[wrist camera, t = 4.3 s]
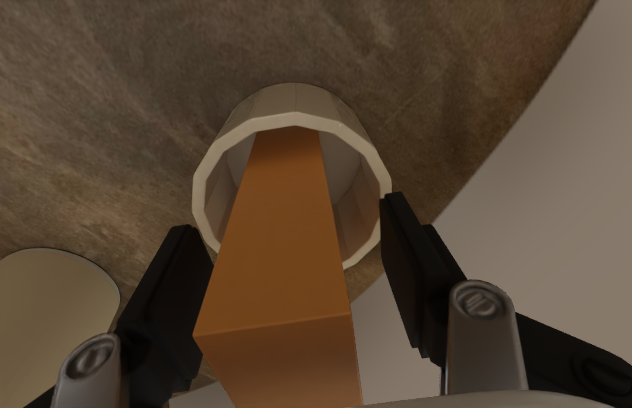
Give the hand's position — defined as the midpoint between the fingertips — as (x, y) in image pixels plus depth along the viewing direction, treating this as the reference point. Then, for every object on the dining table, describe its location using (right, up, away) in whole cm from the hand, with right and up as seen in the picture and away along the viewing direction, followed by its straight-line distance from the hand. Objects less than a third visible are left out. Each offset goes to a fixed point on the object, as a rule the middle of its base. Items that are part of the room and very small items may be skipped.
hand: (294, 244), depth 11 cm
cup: (0, +4, +6) cm, 8 cm away
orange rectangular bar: (0, +4, +6) cm, 7 cm away
